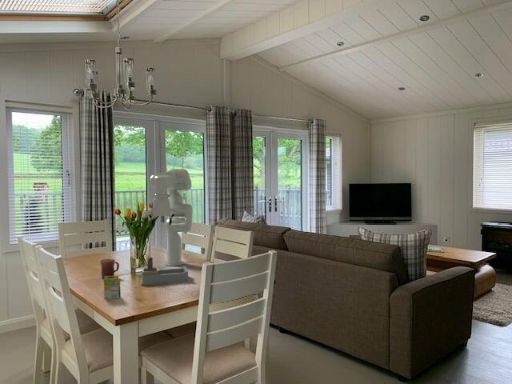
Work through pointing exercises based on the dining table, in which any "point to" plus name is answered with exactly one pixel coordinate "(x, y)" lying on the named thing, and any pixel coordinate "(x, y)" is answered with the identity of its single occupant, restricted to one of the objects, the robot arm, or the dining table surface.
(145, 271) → the crate
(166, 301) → the dining table surface
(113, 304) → the dining table surface
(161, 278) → the bay
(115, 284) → the crayon box
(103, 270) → the mug
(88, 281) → the dining table surface
